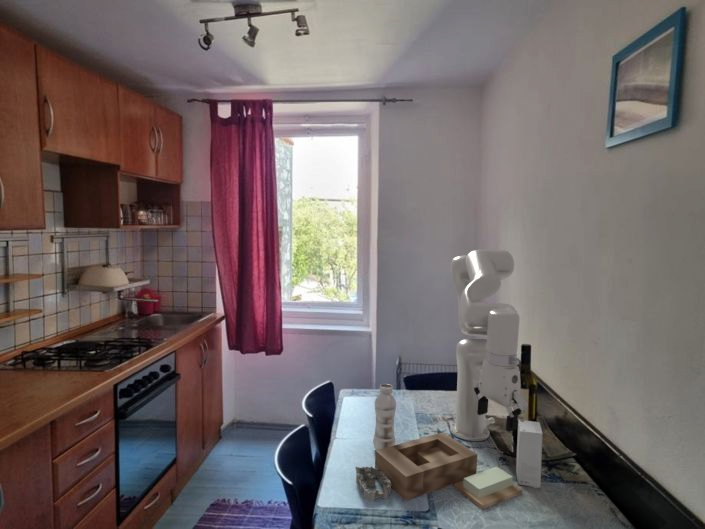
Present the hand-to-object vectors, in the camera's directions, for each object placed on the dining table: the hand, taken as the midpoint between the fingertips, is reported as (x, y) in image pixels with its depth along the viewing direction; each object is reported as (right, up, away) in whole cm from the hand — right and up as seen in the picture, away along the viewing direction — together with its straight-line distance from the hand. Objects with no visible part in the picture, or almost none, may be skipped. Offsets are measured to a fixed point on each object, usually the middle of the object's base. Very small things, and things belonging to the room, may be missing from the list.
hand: (496, 421), depth 114 cm
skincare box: (+10, -18, +6) cm, 21 cm away
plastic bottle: (-28, -16, +19) cm, 37 cm away
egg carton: (-32, -17, -1) cm, 37 cm away
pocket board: (-17, -17, +6) cm, 25 cm away
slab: (-2, -17, 0) cm, 17 cm away
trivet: (-2, -18, 0) cm, 18 cm away
